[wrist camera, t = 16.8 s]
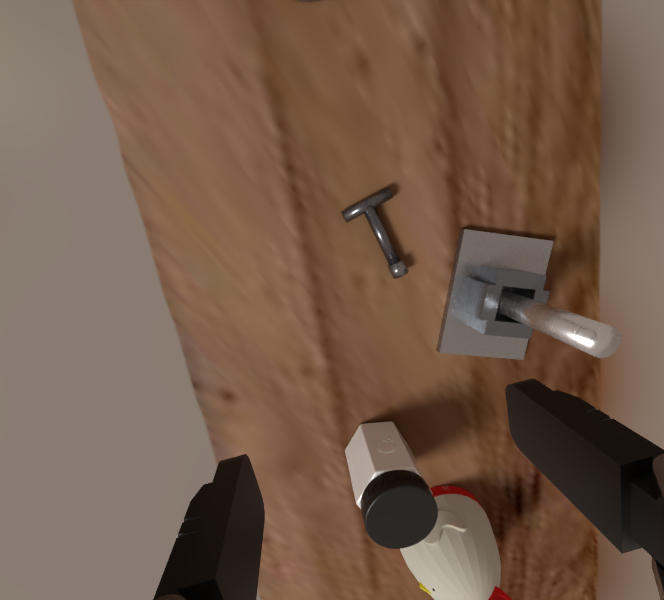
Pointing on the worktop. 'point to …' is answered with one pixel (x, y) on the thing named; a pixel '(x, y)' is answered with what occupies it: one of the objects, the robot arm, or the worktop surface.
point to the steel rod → (561, 324)
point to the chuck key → (378, 228)
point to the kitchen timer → (457, 551)
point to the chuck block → (491, 293)
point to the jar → (390, 487)
